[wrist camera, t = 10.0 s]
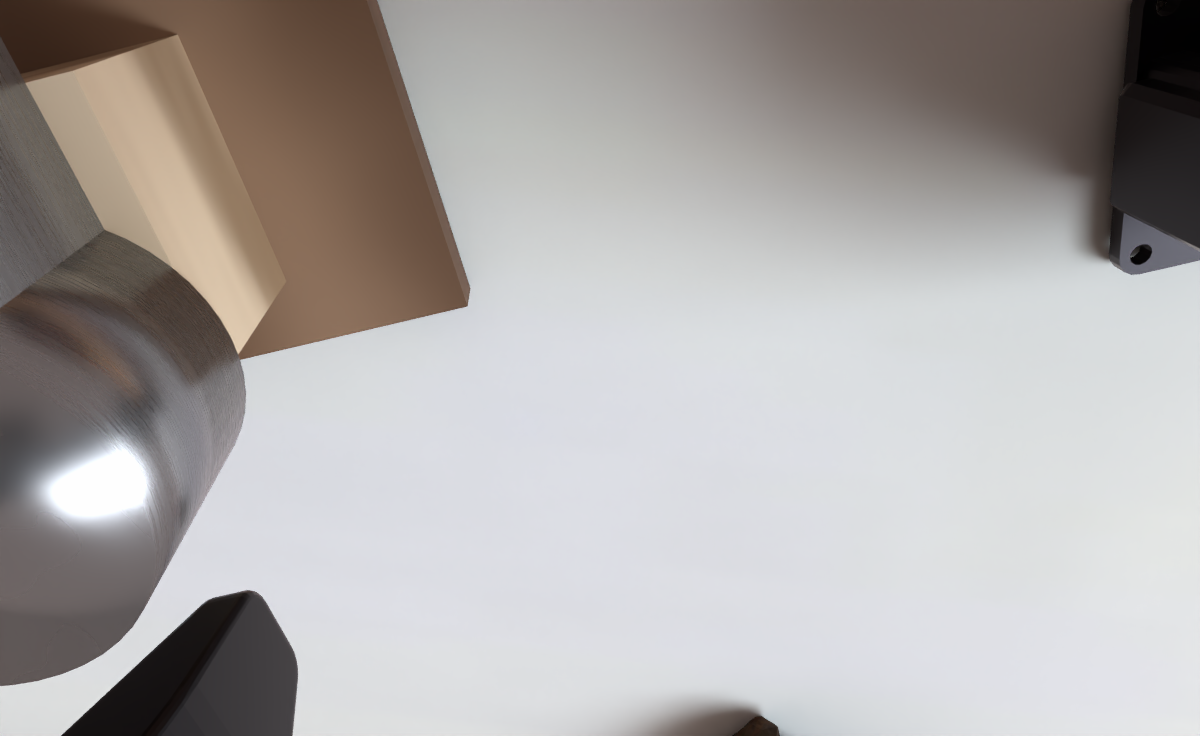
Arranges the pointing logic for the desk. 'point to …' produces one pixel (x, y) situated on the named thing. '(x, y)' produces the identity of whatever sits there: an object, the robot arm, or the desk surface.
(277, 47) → the tool rack
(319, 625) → the desk surface
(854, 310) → the desk surface
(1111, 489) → the desk surface
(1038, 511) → the desk surface
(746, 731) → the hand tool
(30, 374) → the grey long block
